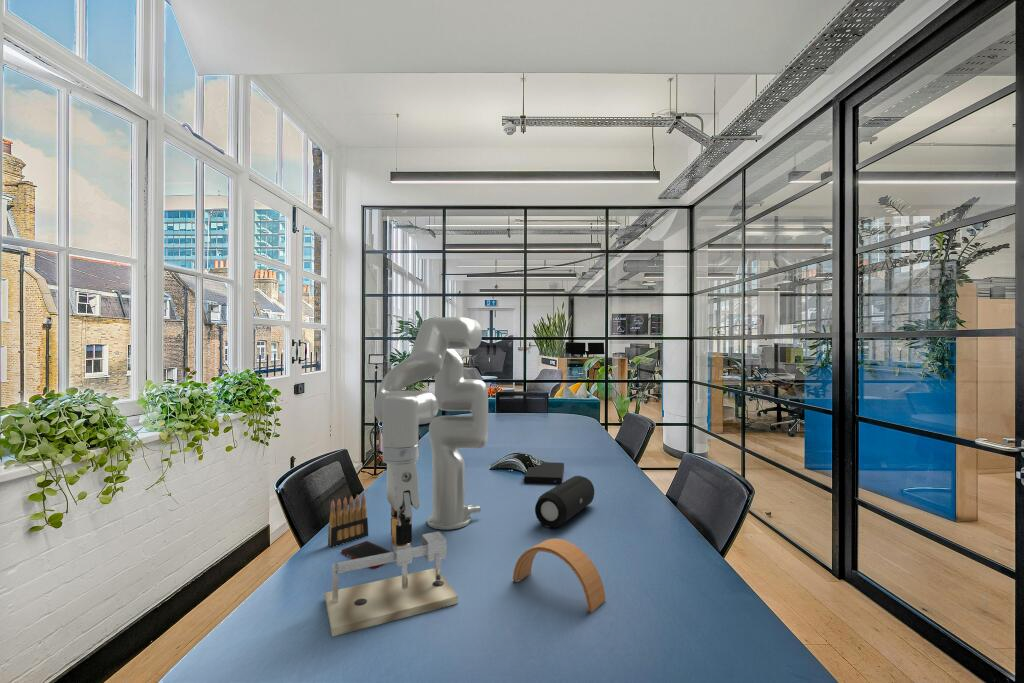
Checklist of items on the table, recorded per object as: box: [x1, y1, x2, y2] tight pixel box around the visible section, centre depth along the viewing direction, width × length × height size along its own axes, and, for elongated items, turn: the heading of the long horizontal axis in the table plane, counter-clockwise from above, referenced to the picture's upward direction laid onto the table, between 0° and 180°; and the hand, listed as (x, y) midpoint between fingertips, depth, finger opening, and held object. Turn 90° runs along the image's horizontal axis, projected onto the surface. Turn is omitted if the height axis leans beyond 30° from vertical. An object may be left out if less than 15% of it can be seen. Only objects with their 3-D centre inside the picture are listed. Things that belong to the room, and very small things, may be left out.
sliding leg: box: [391, 515, 413, 590], centre depth 100 cm, size 4×5×14 cm
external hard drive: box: [523, 461, 565, 486], centre depth 191 cm, size 14×23×3 cm, turn 172°
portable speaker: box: [534, 475, 595, 529], centre depth 146 cm, size 26×10×10 cm, turn 148°
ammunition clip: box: [327, 492, 369, 548], centre depth 129 cm, size 11×2×12 cm, turn 135°
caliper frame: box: [331, 531, 447, 603], centre depth 100 cm, size 23×6×9 cm, turn 116°
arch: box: [512, 538, 606, 613], centre depth 102 cm, size 6×20×10 cm, turn 50°
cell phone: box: [341, 540, 391, 570], centre depth 119 cm, size 8×15×1 cm, turn 49°
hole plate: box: [324, 567, 459, 637], centre depth 98 cm, size 24×14×2 cm, turn 116°
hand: (401, 538), depth 101 cm, fingers closed on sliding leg, 4 cm apart
